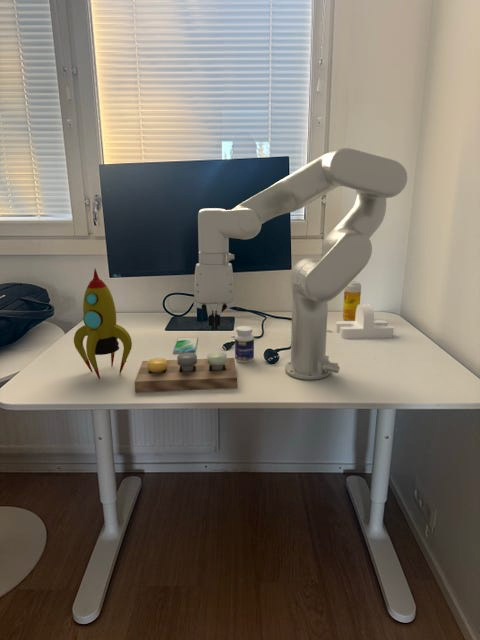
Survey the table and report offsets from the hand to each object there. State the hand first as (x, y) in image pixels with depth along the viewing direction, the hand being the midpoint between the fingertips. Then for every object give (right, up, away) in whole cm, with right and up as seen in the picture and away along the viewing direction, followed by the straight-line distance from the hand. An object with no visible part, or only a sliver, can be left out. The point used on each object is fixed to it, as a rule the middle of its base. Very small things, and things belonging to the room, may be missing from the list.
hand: (214, 328), depth 116 cm
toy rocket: (-31, -13, +9) cm, 35 cm away
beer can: (+50, +2, +55) cm, 75 cm away
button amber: (-15, -13, +3) cm, 21 cm away
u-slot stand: (+50, -3, +40) cm, 64 cm away
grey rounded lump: (-7, -12, +3) cm, 14 cm away
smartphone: (-11, -7, +29) cm, 32 cm away
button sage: (+1, -12, +4) cm, 12 cm away
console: (-7, -14, +4) cm, 16 cm away
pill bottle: (+8, -10, +17) cm, 21 cm away
